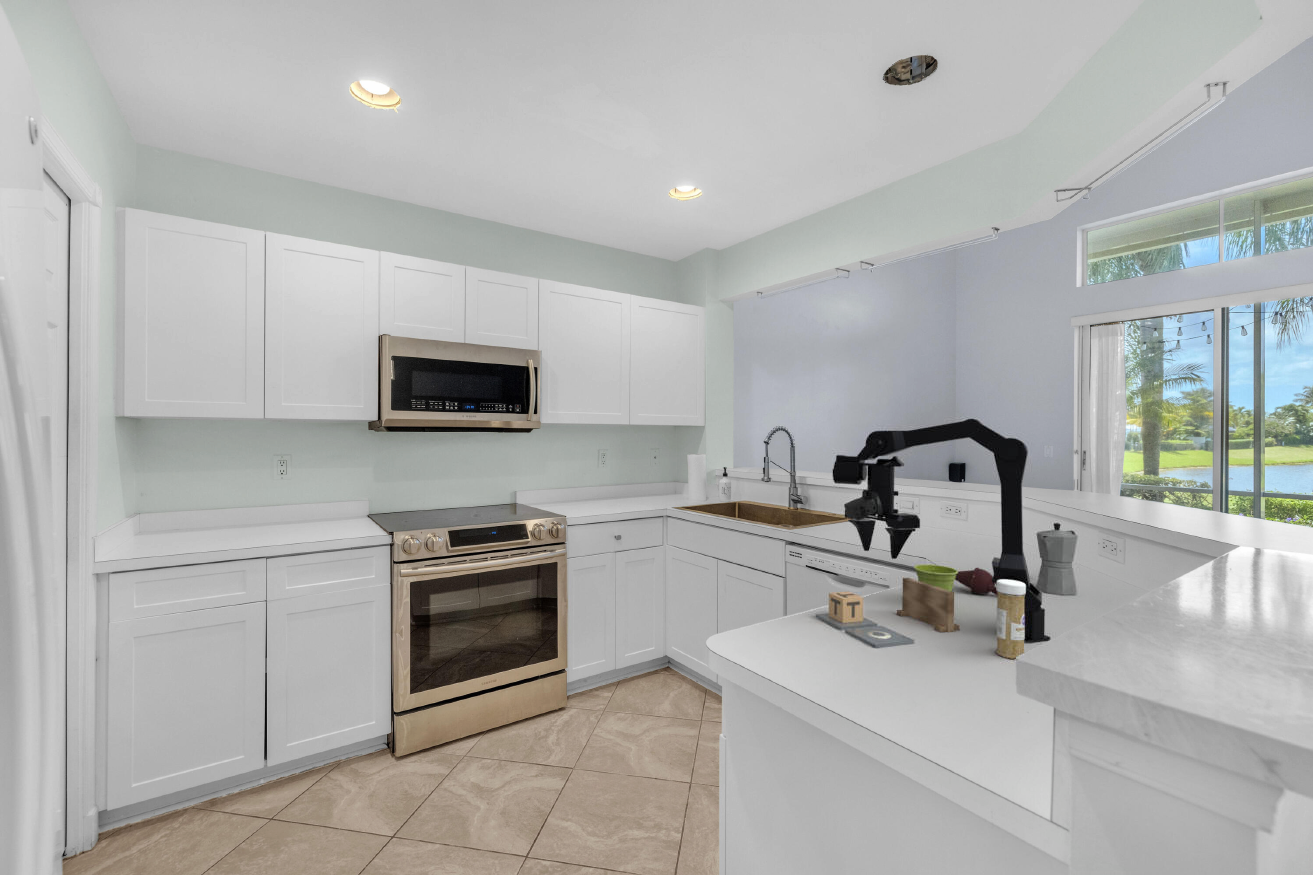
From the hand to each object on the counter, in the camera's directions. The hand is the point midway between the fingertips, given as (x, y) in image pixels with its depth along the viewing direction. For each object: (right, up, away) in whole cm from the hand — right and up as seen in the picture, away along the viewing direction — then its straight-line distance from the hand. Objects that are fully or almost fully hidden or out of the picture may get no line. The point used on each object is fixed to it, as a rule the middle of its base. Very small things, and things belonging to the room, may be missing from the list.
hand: (879, 554), depth 131 cm
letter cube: (-10, -12, -8) cm, 18 cm away
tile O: (-7, -13, -18) cm, 23 cm away
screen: (+7, -13, -7) cm, 17 cm away
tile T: (-10, -13, -8) cm, 18 cm away
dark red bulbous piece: (+32, -14, +18) cm, 39 cm away
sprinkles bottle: (+14, -13, -26) cm, 32 cm away
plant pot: (+16, -14, +6) cm, 22 cm away
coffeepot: (+56, -14, +22) cm, 62 cm away
